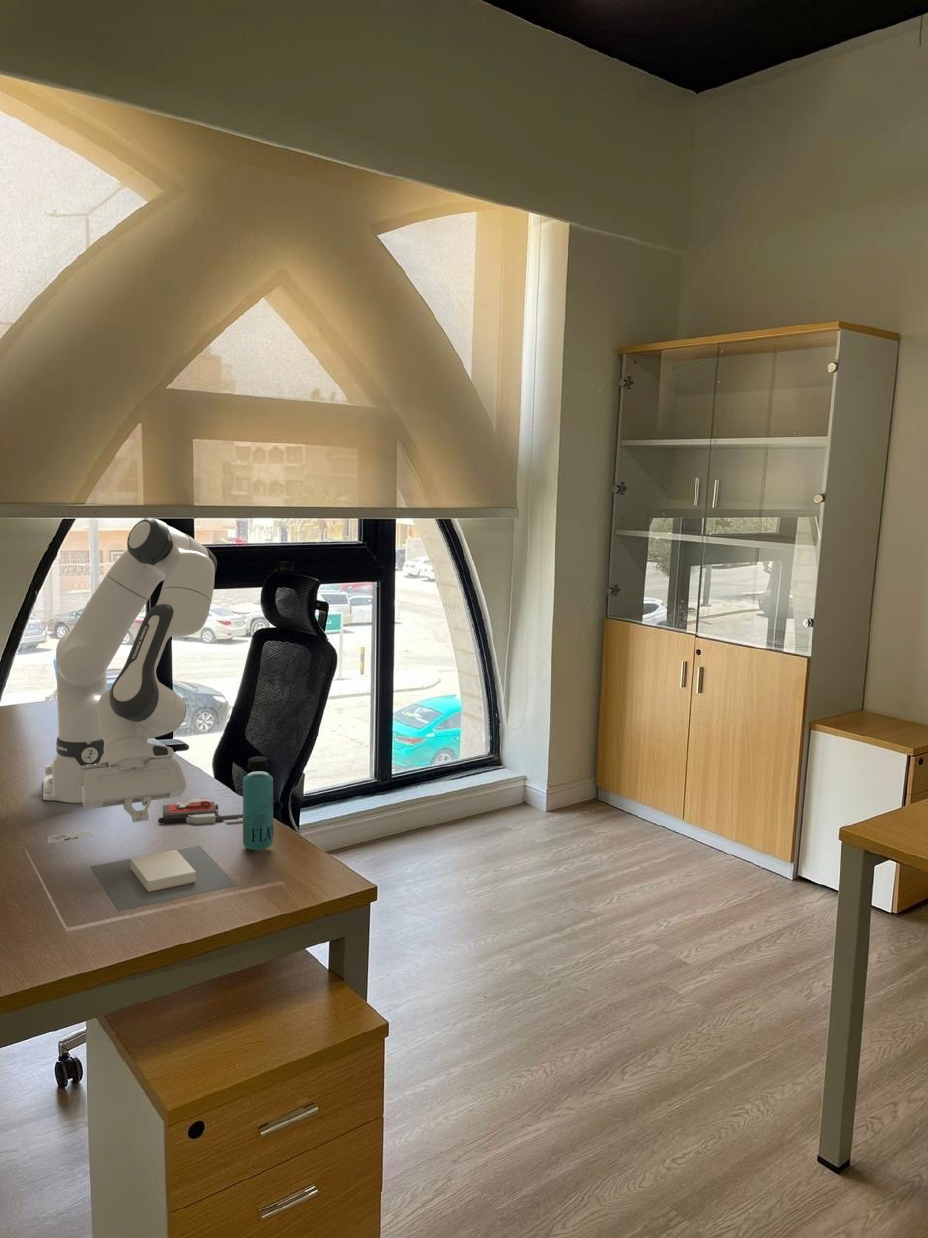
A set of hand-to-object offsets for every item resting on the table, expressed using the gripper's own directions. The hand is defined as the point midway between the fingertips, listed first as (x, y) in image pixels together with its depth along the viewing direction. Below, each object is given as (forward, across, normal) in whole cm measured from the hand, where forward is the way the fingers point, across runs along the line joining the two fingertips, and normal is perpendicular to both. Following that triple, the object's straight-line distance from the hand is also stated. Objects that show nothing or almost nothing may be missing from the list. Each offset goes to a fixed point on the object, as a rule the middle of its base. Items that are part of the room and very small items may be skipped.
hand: (141, 820), depth 195 cm
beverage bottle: (+10, +22, +1) cm, 25 cm away
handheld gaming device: (-3, -11, +16) cm, 19 cm away
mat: (+14, +1, -2) cm, 14 cm away
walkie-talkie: (-5, +18, +18) cm, 26 cm away
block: (+8, +1, +1) cm, 8 cm away
